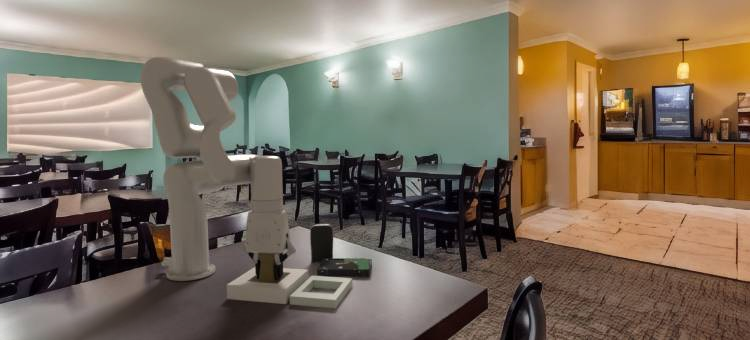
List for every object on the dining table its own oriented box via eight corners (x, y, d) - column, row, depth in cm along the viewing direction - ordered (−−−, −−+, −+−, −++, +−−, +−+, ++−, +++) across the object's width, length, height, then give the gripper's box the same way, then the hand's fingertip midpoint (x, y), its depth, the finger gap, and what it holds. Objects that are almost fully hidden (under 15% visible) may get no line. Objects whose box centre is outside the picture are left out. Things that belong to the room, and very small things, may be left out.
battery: (332, 257, 130) (332, 222, 129) (333, 261, 126) (333, 224, 125) (310, 259, 129) (309, 223, 128) (310, 262, 125) (309, 225, 124)
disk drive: (316, 279, 113) (370, 278, 112) (316, 269, 113) (370, 268, 112) (322, 267, 123) (372, 266, 123) (322, 258, 123) (371, 257, 122)
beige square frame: (227, 299, 98) (226, 284, 98) (256, 278, 112) (256, 266, 111) (290, 304, 95) (289, 289, 94) (312, 282, 108) (311, 269, 108)
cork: (263, 285, 107) (262, 243, 106) (285, 286, 106) (284, 244, 105) (253, 294, 101) (251, 250, 100) (277, 295, 100) (275, 251, 99)
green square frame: (290, 304, 95) (289, 296, 94) (312, 282, 108) (311, 275, 108) (335, 308, 92) (335, 299, 92) (352, 285, 106) (352, 278, 106)
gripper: (228, 207, 99) (231, 281, 101) (292, 209, 96) (294, 286, 98) (244, 202, 107) (246, 271, 108) (305, 204, 103) (306, 275, 105)
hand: (269, 277), depth 103 cm, fingers closed on cork, 4 cm apart
